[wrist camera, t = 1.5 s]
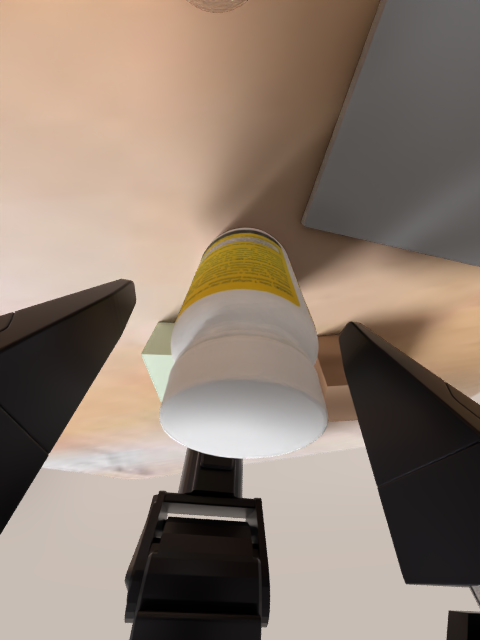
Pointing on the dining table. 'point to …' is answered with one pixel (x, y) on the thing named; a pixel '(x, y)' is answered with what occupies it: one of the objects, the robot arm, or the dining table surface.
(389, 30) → the coaster
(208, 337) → the supplement bottle
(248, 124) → the dining table surface
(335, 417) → the walnut block
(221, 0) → the metal shaker
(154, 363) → the sage box
